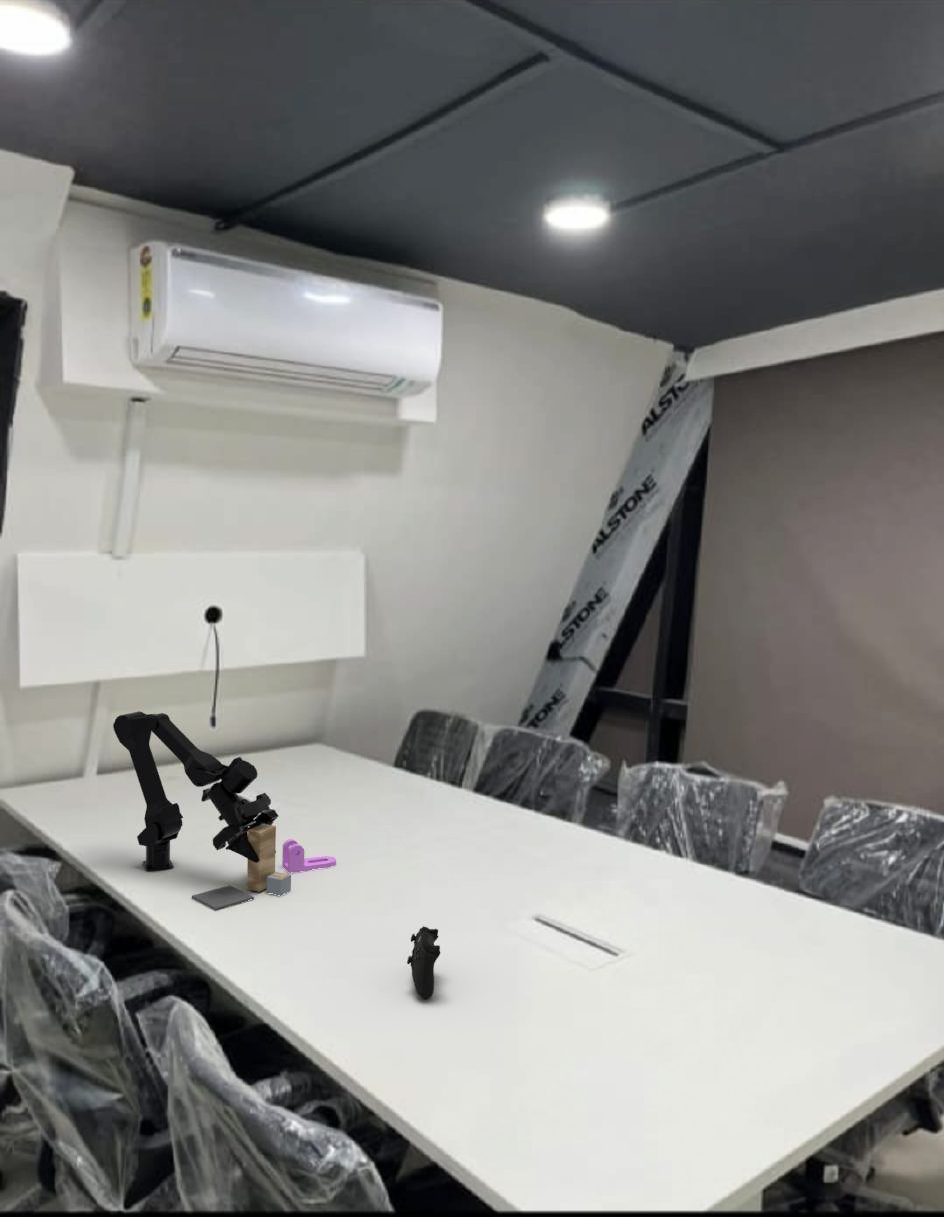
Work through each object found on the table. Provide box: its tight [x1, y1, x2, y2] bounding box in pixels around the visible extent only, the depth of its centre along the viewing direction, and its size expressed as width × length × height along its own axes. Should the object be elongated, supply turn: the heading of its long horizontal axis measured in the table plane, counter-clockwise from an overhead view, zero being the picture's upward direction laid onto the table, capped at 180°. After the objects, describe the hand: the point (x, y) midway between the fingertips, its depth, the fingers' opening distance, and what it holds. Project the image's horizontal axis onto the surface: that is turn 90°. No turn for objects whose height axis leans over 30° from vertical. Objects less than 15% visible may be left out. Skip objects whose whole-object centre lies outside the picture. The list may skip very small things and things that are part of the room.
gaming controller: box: [406, 926, 441, 1000], centre depth 187 cm, size 14×6×10 cm, turn 5°
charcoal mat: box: [191, 884, 255, 911], centre depth 227 cm, size 10×10×1 cm
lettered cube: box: [266, 871, 292, 897], centre depth 232 cm, size 4×4×4 cm
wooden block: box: [246, 824, 277, 893], centre depth 233 cm, size 4×6×14 cm, turn 155°
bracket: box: [281, 838, 337, 874], centre depth 250 cm, size 13×6×7 cm, turn 119°
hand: (266, 857), depth 233 cm, fingers closed on wooden block, 6 cm apart
